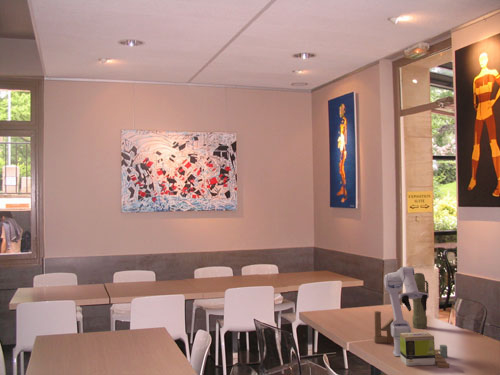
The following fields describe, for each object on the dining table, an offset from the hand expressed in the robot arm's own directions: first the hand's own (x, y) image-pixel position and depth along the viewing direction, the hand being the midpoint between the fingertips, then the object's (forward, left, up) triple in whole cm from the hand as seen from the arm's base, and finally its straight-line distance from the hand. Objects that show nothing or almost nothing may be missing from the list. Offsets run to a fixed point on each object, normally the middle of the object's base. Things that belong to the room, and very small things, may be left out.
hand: (417, 310), depth 271 cm
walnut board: (-18, +13, -30) cm, 37 cm away
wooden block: (-53, -10, -30) cm, 61 cm away
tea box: (-13, +2, -30) cm, 33 cm away
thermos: (-92, +18, -30) cm, 98 cm away
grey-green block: (-25, +15, -30) cm, 41 cm away
